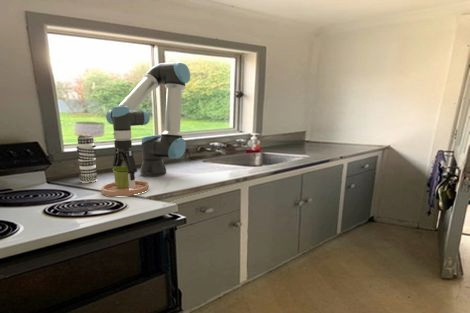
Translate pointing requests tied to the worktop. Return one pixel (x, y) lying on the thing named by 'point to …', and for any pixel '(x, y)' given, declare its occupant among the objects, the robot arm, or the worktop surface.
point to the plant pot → (121, 176)
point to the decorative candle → (87, 158)
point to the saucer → (124, 189)
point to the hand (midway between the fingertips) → (125, 184)
